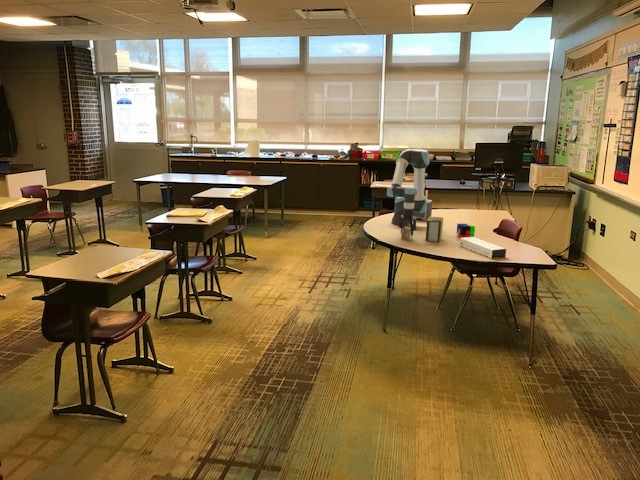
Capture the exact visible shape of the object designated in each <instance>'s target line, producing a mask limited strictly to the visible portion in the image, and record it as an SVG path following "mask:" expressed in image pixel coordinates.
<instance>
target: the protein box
mask: <svg viewBox="0 0 640 480" xmlns="http://www.w3.org/2000/svg"><path fill="white" fill-rule="evenodd" d="M443 227H444V217H441V216H439V217H438V216H431V217H429V218H428V220H427V221H426V227H425V228H426V232H425V241H426V242H437V243H440V242H441V240H442V237H443V230H444V229H443Z"/></svg>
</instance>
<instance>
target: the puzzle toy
mask: <svg viewBox="0 0 640 480" xmlns="http://www.w3.org/2000/svg"><path fill="white" fill-rule="evenodd" d="M475 231H476V226H475V225H473V224H472V223H457V224H456V235H455V236H456V238H458V239H460V238H465V237H475Z"/></svg>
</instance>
